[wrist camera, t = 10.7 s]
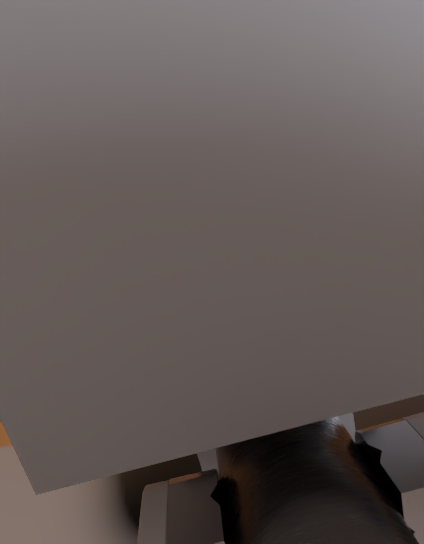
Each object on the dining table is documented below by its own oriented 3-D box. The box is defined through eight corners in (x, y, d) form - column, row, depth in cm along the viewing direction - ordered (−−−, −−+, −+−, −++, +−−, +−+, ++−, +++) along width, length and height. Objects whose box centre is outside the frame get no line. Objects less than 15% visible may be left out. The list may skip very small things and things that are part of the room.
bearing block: (89, 98, 18) (-284, -179, 3) (253, 59, 18) (558, -371, 4) (138, 258, 20) (36, 494, 6) (283, 222, 20) (542, 362, 6)
